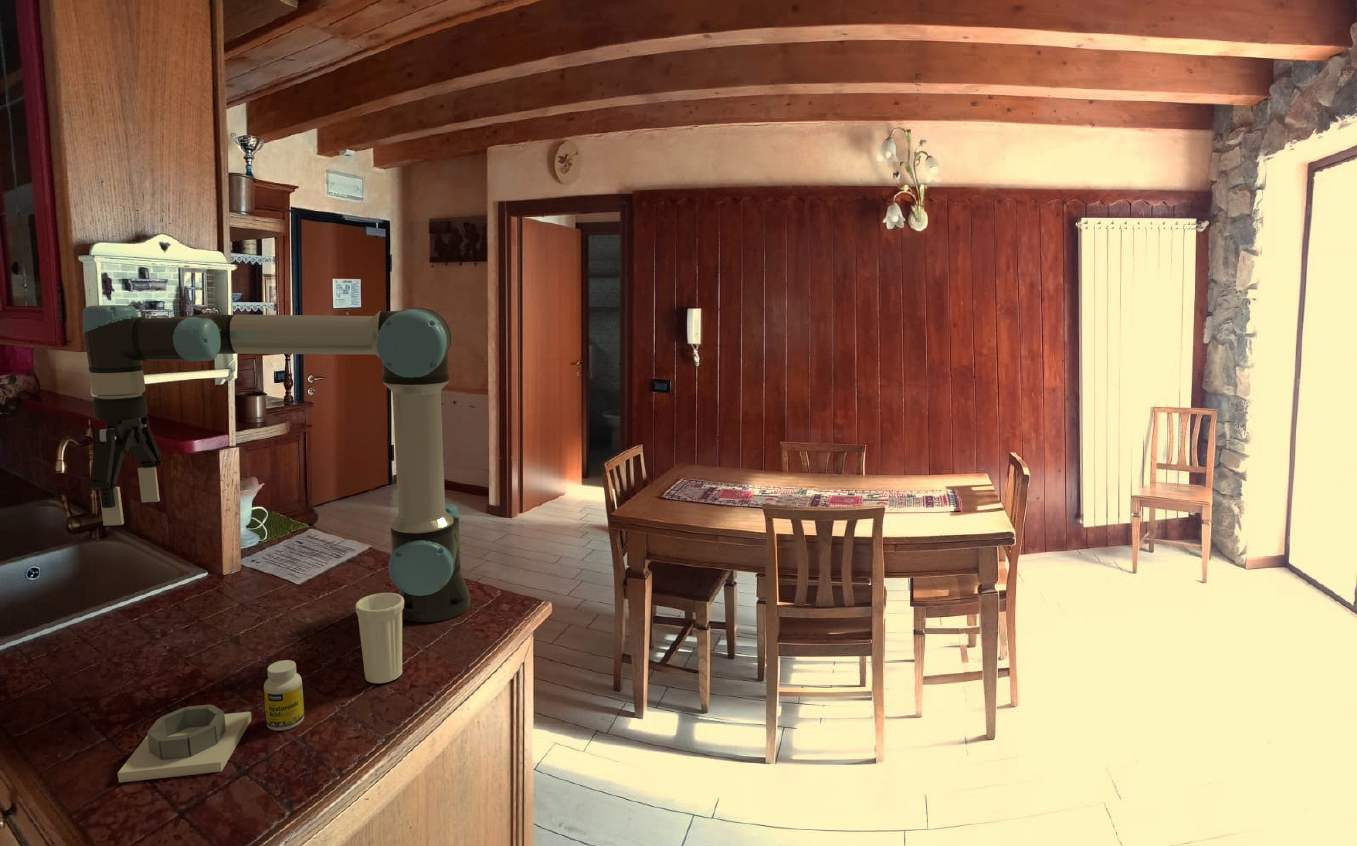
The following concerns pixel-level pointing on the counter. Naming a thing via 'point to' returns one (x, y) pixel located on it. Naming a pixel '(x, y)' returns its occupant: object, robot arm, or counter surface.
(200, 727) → the holder
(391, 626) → the cup
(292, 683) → the supplement bottle
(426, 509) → the robot arm
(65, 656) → the counter surface
